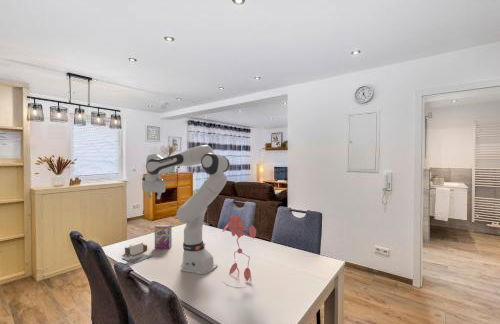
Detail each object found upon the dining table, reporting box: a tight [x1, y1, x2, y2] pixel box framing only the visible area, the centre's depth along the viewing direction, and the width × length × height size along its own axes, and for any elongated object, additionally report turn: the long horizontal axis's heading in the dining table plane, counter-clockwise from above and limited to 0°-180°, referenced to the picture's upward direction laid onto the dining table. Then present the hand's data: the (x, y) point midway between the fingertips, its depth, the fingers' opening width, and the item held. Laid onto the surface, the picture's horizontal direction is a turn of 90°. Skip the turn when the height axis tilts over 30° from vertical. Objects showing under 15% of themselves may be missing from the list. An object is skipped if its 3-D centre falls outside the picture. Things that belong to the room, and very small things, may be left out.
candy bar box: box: [154, 224, 173, 250], centre depth 174 cm, size 11×5×16 cm, turn 84°
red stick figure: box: [222, 214, 257, 289], centre depth 127 cm, size 15×26×35 cm, turn 49°
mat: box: [121, 253, 152, 264], centre depth 156 cm, size 14×12×1 cm
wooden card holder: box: [124, 243, 148, 256], centre depth 167 cm, size 8×12×4 cm
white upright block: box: [129, 241, 144, 260], centre depth 156 cm, size 4×7×9 cm, turn 148°
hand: (154, 198), depth 160 cm, fingers open, 8 cm apart
